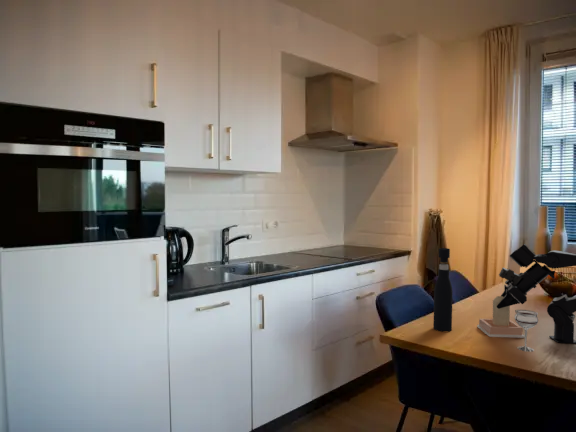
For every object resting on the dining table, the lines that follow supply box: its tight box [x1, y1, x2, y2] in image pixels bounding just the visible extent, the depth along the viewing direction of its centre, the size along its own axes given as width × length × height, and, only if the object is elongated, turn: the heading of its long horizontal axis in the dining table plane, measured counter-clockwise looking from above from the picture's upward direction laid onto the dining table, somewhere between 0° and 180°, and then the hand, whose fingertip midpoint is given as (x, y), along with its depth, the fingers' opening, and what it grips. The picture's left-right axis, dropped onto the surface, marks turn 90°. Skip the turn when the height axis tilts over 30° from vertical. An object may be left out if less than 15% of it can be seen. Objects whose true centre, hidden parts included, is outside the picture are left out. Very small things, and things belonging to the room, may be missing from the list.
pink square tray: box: [476, 318, 525, 339], centre depth 161 cm, size 12×12×3 cm
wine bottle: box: [433, 247, 454, 332], centre depth 164 cm, size 6×6×30 cm
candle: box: [492, 295, 511, 326], centre depth 161 cm, size 6×6×10 cm
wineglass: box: [514, 309, 539, 352], centre depth 143 cm, size 7×7×12 cm
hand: (496, 305), depth 161 cm, fingers closed on candle, 5 cm apart
